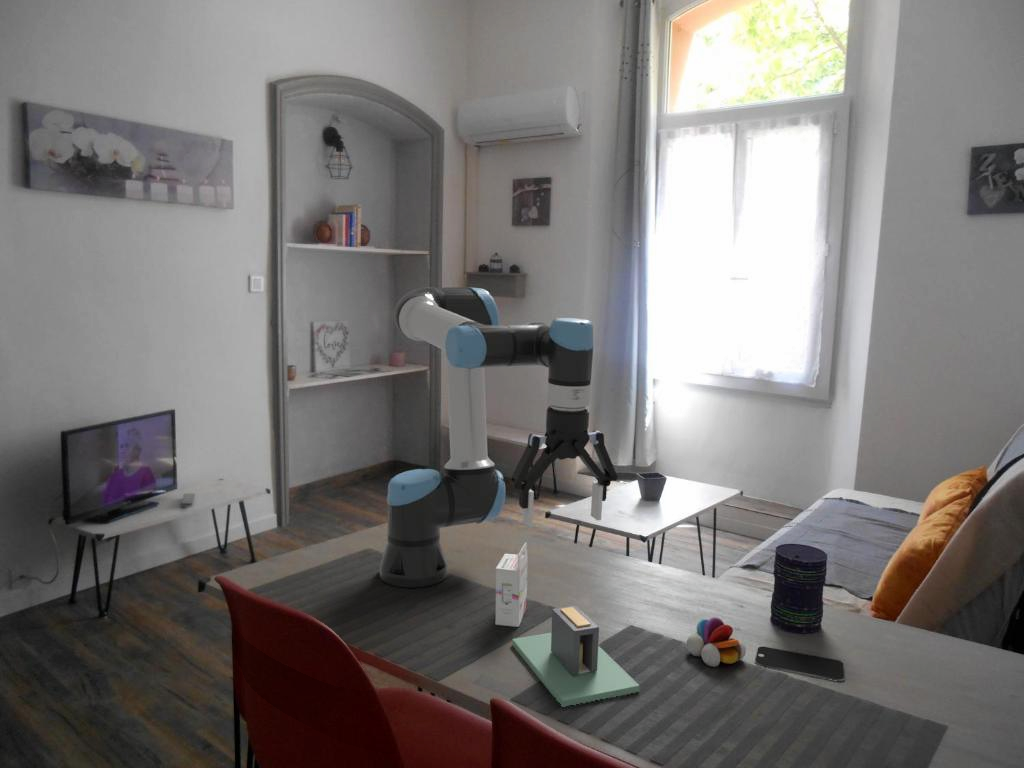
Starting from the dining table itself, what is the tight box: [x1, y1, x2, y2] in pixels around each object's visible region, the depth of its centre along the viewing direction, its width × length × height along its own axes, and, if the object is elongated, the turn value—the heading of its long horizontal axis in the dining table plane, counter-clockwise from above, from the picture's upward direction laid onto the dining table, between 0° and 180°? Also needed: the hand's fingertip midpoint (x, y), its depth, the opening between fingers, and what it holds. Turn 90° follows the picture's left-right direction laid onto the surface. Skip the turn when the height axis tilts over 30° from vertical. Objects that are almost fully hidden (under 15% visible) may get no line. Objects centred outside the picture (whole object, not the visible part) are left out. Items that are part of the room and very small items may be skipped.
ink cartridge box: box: [494, 541, 529, 628], centre depth 155 cm, size 9×5×15 cm, turn 168°
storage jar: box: [769, 543, 828, 636], centre depth 155 cm, size 10×10×15 cm
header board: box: [511, 632, 640, 708], centre depth 137 cm, size 22×14×6 cm, turn 21°
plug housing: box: [551, 605, 600, 676], centre depth 136 cm, size 9×5×8 cm, turn 21°
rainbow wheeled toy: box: [686, 616, 747, 668], centre depth 142 cm, size 8×10×7 cm
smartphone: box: [754, 646, 846, 682], centre depth 141 cm, size 8×1×15 cm
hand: (562, 521), depth 142 cm, fingers open, 13 cm apart
